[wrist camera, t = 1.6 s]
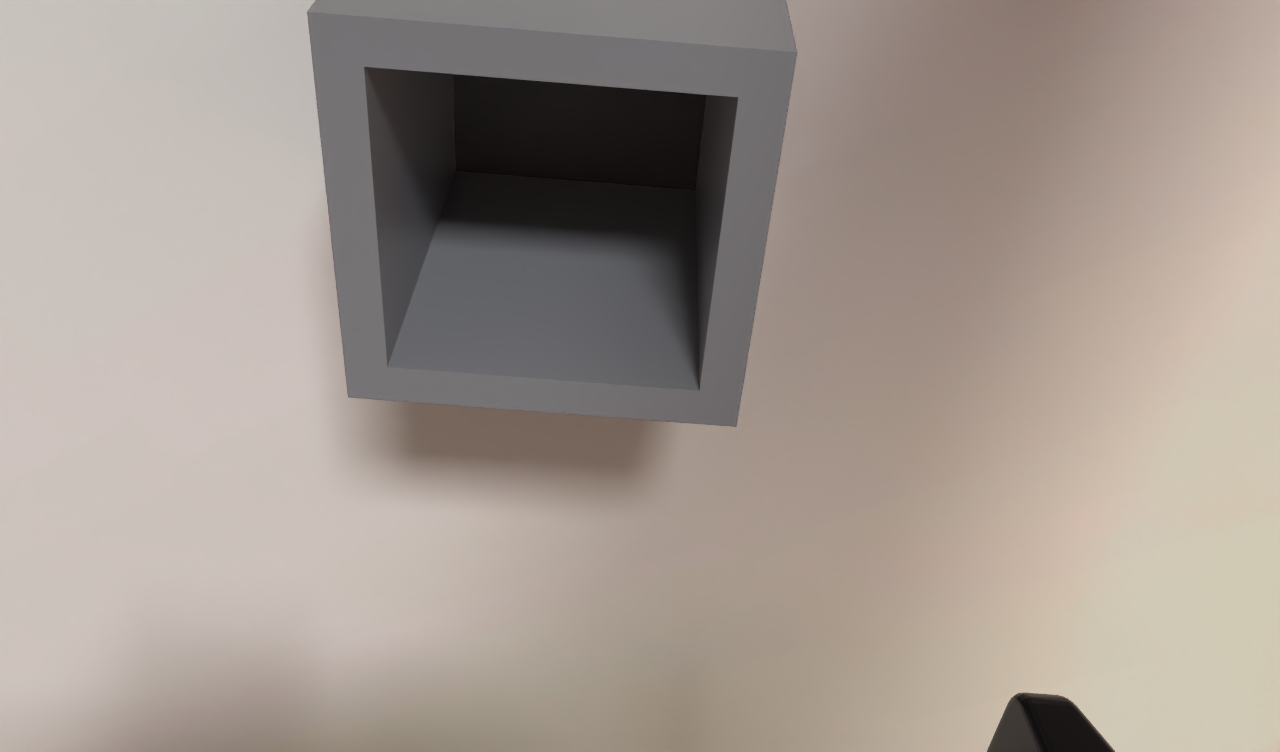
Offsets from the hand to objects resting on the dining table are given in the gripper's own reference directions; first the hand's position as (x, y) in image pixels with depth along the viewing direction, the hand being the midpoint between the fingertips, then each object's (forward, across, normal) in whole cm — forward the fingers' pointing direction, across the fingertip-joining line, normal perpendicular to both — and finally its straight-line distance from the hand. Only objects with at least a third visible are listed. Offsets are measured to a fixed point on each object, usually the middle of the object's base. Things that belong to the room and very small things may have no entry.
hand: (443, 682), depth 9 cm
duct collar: (+13, 0, 0) cm, 13 cm away
